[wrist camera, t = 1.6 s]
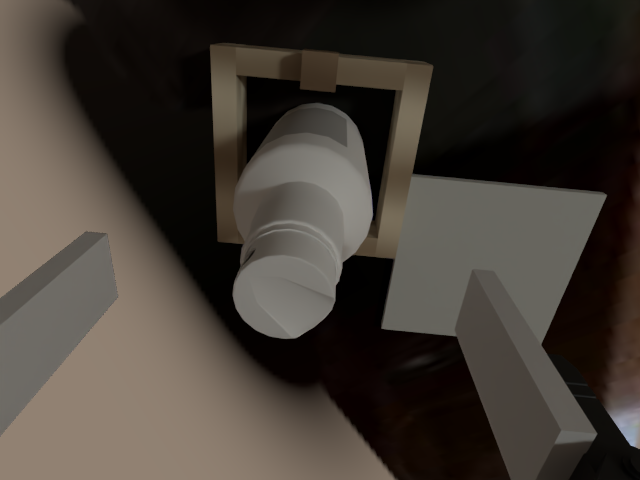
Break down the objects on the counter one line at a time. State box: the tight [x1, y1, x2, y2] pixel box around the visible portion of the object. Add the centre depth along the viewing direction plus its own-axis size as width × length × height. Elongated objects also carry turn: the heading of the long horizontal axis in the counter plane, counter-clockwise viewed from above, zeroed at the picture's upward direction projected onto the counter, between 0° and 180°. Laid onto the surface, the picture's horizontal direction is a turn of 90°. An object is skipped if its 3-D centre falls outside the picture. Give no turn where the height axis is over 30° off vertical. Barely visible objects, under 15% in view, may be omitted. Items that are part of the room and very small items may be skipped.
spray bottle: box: [233, 103, 373, 339], centre depth 21 cm, size 7×7×18 cm
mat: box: [381, 174, 607, 344], centre depth 33 cm, size 14×14×1 cm
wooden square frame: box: [210, 43, 433, 259], centre depth 27 cm, size 14×13×4 cm
